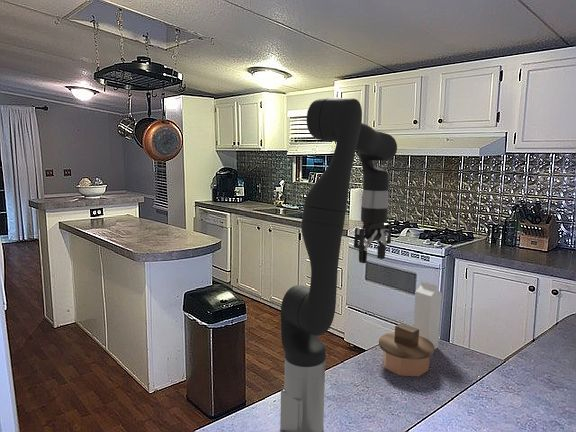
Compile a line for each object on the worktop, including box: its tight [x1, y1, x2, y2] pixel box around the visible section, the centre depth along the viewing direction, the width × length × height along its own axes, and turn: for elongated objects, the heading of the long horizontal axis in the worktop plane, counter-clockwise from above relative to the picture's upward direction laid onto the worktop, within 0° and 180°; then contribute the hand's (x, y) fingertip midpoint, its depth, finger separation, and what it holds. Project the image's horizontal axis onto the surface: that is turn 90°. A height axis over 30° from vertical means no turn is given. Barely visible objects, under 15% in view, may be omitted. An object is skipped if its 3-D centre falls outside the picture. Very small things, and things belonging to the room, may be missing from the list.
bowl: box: [382, 350, 430, 377], centre depth 129 cm, size 13×13×6 cm
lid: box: [378, 322, 435, 359], centre depth 128 cm, size 16×16×6 cm
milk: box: [412, 280, 443, 350], centre depth 140 cm, size 6×6×22 cm
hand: (372, 260), depth 125 cm, fingers open, 8 cm apart
